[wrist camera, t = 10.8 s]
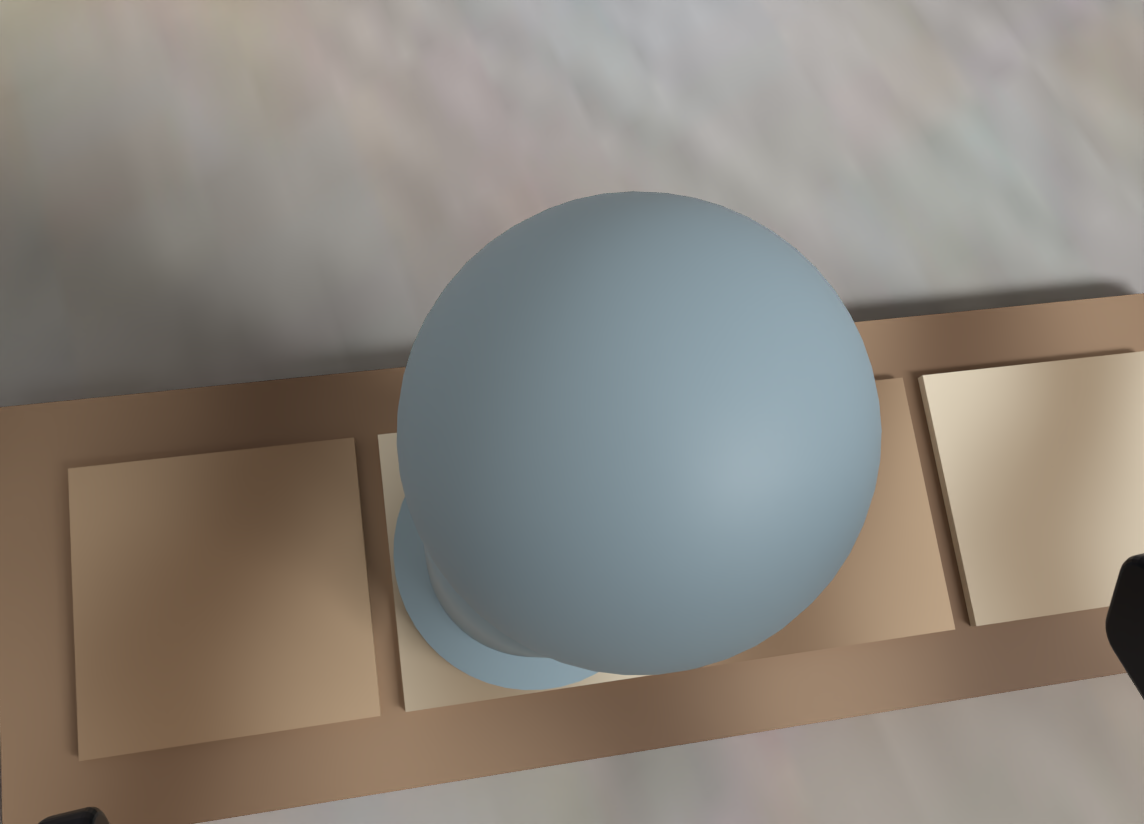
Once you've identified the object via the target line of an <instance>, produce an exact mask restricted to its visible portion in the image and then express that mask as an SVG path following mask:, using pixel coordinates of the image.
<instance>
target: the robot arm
mask: <svg viewBox="0 0 1144 824" xmlns="http://www.w3.org/2000/svg"><path fill="white" fill-rule="evenodd" d="M1105 630H1106V634H1107V638H1108V641H1109V643H1110V645H1111V647H1112V649H1113V651H1114V653H1115V654H1116V656H1117V657H1118V659H1119V661H1120V662H1121V664H1122V665H1123V667H1124V669H1125V670H1126V672H1127V673H1128V675H1129V677H1130V678H1131V680H1132V681H1133V683H1134V685H1135V686H1136V688H1137V689H1138V691H1139V693H1140V694H1141V696H1142V697H1143V699H1144V553H1142V554H1138V555H1134V556H1131V557H1129V558H1128V559H1127V560H1126V561H1125V562H1124V563H1123V564H1122V566H1121V568H1120V571H1119V574H1118V578H1117V581H1116V585H1115V588H1114V592H1113V595H1112V598H1111V602H1110V605H1109V609H1108V612H1107V616H1106V620H1105ZM38 824H110V823H109V821H108V819H107V817H106V815H105V814H104V813H103V811H101V810H100V809H99V808H97V807H85V808H81V809H77V810H73V811H69V812H65V813H60V814H56V815H52V816H49V817H47V818H45V819H43V820H42V821H40V822H39V823H38Z"/></svg>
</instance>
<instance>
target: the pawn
mask: <svg viewBox="0 0 1144 824" xmlns="http://www.w3.org/2000/svg"><path fill="white" fill-rule="evenodd" d="M881 433H882V429H881V417H880V405H879V398H878V393H877V388H876V384H875V379H874V374H873V370H872V366H871V363H870V360H869V357H868V354H867V351H866V348H865V346H864V343H863V340H862V338H861V336H860V334H859V331H858V329H857V327H856V325H855V323H854V321H853V319H852V317H851V315H850V313H849V312H848V310H847V309H846V307H845V306H844V304H843V302H842V301H841V299H840V298H839V296H838V295H837V293H836V292H835V290H834V289H833V288H832V286H831V285H830V284H829V283H828V282H827V280H826V279H825V278H824V277H823V276H822V274H821V273H820V272H819V271H818V270H817V268H816V267H815V266H814V265H812V264H811V263H810V262H809V261H808V260H807V259H806V258H805V257H804V256H803V255H802V254H801V253H800V252H799V251H798V250H797V249H796V248H794V247H793V246H792V245H790V244H789V243H788V242H786V241H785V240H784V239H782V238H781V237H780V236H778V235H777V234H776V233H774V232H773V231H771V230H769V229H768V228H766V227H764V226H763V225H761V224H759V223H757V222H756V221H754V220H752V219H750V218H749V217H747V216H744V215H742V214H740V213H737V212H735V211H733V210H730V209H728V208H726V207H723V206H721V205H717V204H714V203H710V202H707V201H704V200H700V199H697V198H692V197H687V196H681V195H675V194H669V193H656V192H634V191H632V192H619V193H606V194H600V195H595V196H590V197H585V198H580V199H575V200H572V201H569V202H567V203H564V204H561V205H558V206H555V207H552V208H549V209H547V210H545V211H543V212H541V213H539V214H537V215H535V216H533V217H531V218H529V219H527V220H525V221H523V222H521V223H519V224H517V225H515V226H513V227H512V228H510V229H509V230H507V231H506V232H504V233H503V234H501V235H500V236H498V237H497V238H495V239H494V240H492V241H491V242H489V243H488V244H487V245H486V246H485V247H484V248H483V249H481V250H480V251H479V252H478V253H477V254H476V255H475V256H473V257H472V258H471V259H470V260H469V261H468V262H467V263H466V264H465V265H464V266H463V267H462V269H461V270H460V271H459V272H458V273H457V274H456V276H455V277H454V278H453V279H452V280H451V281H450V283H449V284H448V285H447V286H446V288H445V289H444V290H443V292H442V293H441V295H440V296H439V298H438V299H437V301H436V303H435V304H434V306H433V307H432V309H431V310H430V312H429V313H428V315H427V316H426V318H425V320H424V322H423V325H422V327H421V329H420V331H419V333H418V335H417V337H416V339H415V342H414V344H413V346H412V349H411V352H410V356H409V359H408V362H407V365H406V369H405V372H404V375H403V381H402V387H401V393H400V399H399V405H398V414H397V452H398V462H399V471H400V477H401V481H402V486H403V490H404V494H405V498H404V500H403V502H402V505H401V508H400V512H399V515H398V518H397V523H396V529H395V535H394V555H393V557H394V567H395V576H396V580H397V584H398V588H399V592H400V595H401V598H402V600H403V603H404V605H405V608H406V611H407V612H408V614H409V616H410V618H411V620H412V621H413V623H414V625H415V627H416V628H417V630H418V631H419V632H420V634H421V635H422V636H423V638H424V639H425V640H426V642H427V643H428V644H429V645H430V646H431V647H432V648H433V649H434V650H435V651H436V652H437V653H438V654H439V655H440V656H441V657H443V658H444V659H445V660H446V661H448V662H449V663H450V664H452V665H453V666H454V667H456V668H457V669H459V670H461V671H463V672H464V673H466V674H468V675H469V676H472V677H474V678H476V679H479V680H481V681H484V682H486V683H489V684H493V685H497V686H500V687H504V688H511V689H519V690H544V689H551V688H557V687H562V686H566V685H569V684H573V683H576V682H579V681H581V680H583V679H586V678H588V677H590V676H592V675H595V674H596V673H598V672H603V673H611V674H619V675H660V674H666V673H673V672H679V671H686V670H691V669H696V668H699V667H702V666H706V665H709V664H712V663H716V662H719V661H722V660H726V659H728V658H731V657H733V656H735V655H737V654H739V653H741V652H744V651H746V650H748V649H750V648H752V647H755V646H756V645H758V644H760V643H761V642H763V641H764V640H766V639H767V638H769V637H770V636H772V635H774V634H775V633H777V632H778V631H780V630H781V629H783V628H784V627H785V626H786V625H787V624H789V623H790V622H791V621H792V620H793V619H794V618H796V617H797V616H798V615H799V614H800V613H801V612H802V611H804V610H805V609H806V608H807V607H808V606H809V605H810V604H811V603H813V601H814V600H815V599H816V598H817V597H818V596H819V595H820V593H821V592H822V591H823V590H824V589H825V588H826V587H827V585H828V584H829V583H830V582H831V581H832V580H833V578H834V577H835V575H836V574H837V572H838V571H839V569H840V568H841V566H842V565H843V563H844V562H845V560H846V559H847V557H848V556H849V554H850V552H851V550H852V548H853V546H854V544H855V542H856V540H857V537H858V535H859V533H860V531H861V529H862V527H863V524H864V522H865V519H866V516H867V513H868V510H869V507H870V504H871V500H872V497H873V494H874V491H875V487H876V481H877V476H878V470H879V464H880V455H881Z"/></svg>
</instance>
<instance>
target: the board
mask: <svg viewBox="0 0 1144 824" xmlns="http://www.w3.org/2000/svg"><path fill="white" fill-rule="evenodd" d="M854 323H855V325H856V327H857V329H858V331H859V334H860V336H861V338H862V340H863V343H864V346H865V348H866V351H867V354H868V357H869V360H870V363H871V366H872V370H873V374H874V379H875V384H876V388H877V393H878V398H879V405H880V417H881V429H882V433H881V455H880V464H879V470H878V476H877V481H876V487H875V491H874V494H873V497H872V500H871V504H870V507H869V510H868V513H867V516H866V519H865V522H864V524H863V527H862V529H861V531H860V533H859V535H858V537H857V540H856V542H855V544H854V546H853V548H852V550H851V552H850V554H849V556H848V557H847V559H846V560H845V562H844V563H843V565H842V566H841V568H840V569H839V571H838V572H837V574H836V575H835V577H834V578H833V580H832V581H831V582H830V583H829V584H828V585H827V587H826V588H825V589H824V590H823V591H822V592H821V593H820V595H819V596H818V597H817V598H816V599H815V600H814V601H813V603H811V604H810V605H809V606H808V607H807V608H806V609H805V610H804V611H802V612H801V613H800V614H799V615H798V616H797V617H796V618H794V619H793V620H792V621H791V622H790V623H789V624H787V625H786V626H785V627H784V628H783V629H781V630H780V631H778V632H777V633H775V634H774V635H772V636H770V637H769V638H767V639H766V640H764V641H763V642H761V643H760V644H758V645H756V646H755V647H752V648H750V649H748V650H746V651H744V652H741V653H739V654H737V655H735V656H733V657H731V658H728V659H726V660H722V661H719V662H716V663H712V664H709V665H706V666H702V667H699V668H696V669H691V670H686V671H679V672H673V673H666V674H660V675H619V674H611V673H603V672H598V673H596V674H595V675H592V676H590V677H588V678H586V679H583V680H581V681H579V682H576V683H573V684H569V685H566V686H562V687H557V688H551V689H544V690H519V689H511V688H504V687H500V686H497V685H493V684H489V683H486V682H484V681H481V680H479V679H476V678H474V677H472V676H469V675H468V674H466V673H464V672H463V671H461V670H459V669H457V668H456V667H454V666H453V665H452V664H450V663H449V662H448V661H446V660H445V659H444V658H443V657H441V656H440V655H439V654H438V653H437V652H436V651H435V650H434V649H433V648H432V647H431V646H430V645H429V644H428V643H427V642H426V640H425V639H424V638H423V636H422V635H421V634H420V632H419V631H418V630H417V628H416V627H415V625H414V623H413V621H412V620H411V618H410V616H409V614H408V612H407V611H406V608H405V605H404V603H403V600H402V598H401V595H400V592H399V588H398V584H397V580H396V576H395V567H394V557H393V555H394V535H395V529H396V523H397V518H398V515H399V512H400V508H401V505H402V502H403V500H404V498H405V494H404V490H403V486H402V481H401V477H400V471H399V462H398V452H397V414H398V405H399V399H400V393H401V387H402V381H403V375H404V372H405V369H406V367H399V368H389V369H379V370H369V371H359V372H349V373H339V374H329V375H319V376H309V377H299V378H289V379H279V380H269V381H259V382H249V383H239V384H229V385H219V386H209V387H199V388H188V389H178V390H168V391H158V392H148V393H138V394H128V395H118V396H108V397H98V398H88V399H78V400H68V401H58V402H48V403H38V404H28V405H18V406H8V407H0V743H1V788H2V824H38V823H39V822H40V821H42V820H43V819H45V818H47V817H49V816H52V815H56V814H60V813H65V812H69V811H73V810H77V809H81V808H85V807H97V808H99V809H100V810H101V811H103V813H104V814H105V815H106V817H107V819H108V821H109V823H110V824H194V823H200V822H207V821H213V820H219V819H225V818H231V817H238V816H244V815H250V814H256V813H262V812H268V811H275V810H281V809H287V808H293V807H299V806H306V805H312V804H318V803H324V802H330V801H336V800H343V799H349V798H355V797H361V796H367V795H373V794H380V793H386V792H392V791H398V790H404V789H411V788H417V787H423V786H429V785H435V784H441V783H448V782H454V781H460V780H466V779H472V778H479V777H485V776H491V775H497V774H503V773H509V772H516V771H522V770H528V769H534V768H540V767H546V766H553V765H559V764H565V763H571V762H577V761H584V760H590V759H596V758H602V757H608V756H614V755H621V754H627V753H633V752H639V751H645V750H652V749H658V748H664V747H670V746H676V745H682V744H689V743H695V742H701V741H707V740H713V739H719V738H726V737H732V736H738V735H744V734H750V733H757V732H763V731H769V730H775V729H781V728H787V727H794V726H800V725H806V724H812V723H818V722H825V721H831V720H837V719H843V718H849V717H855V716H862V715H868V714H874V713H880V712H886V711H893V710H899V709H905V708H911V707H917V706H923V705H930V704H936V703H942V702H948V701H954V700H960V699H967V698H973V697H979V696H985V695H991V694H998V693H1004V692H1010V691H1016V690H1022V689H1028V688H1035V687H1041V686H1047V685H1053V684H1059V683H1066V682H1072V681H1078V680H1084V679H1090V678H1096V677H1103V676H1109V675H1115V674H1121V673H1127V672H1126V670H1125V669H1124V667H1123V665H1122V664H1121V662H1120V661H1119V659H1118V657H1117V656H1116V654H1115V653H1114V651H1113V649H1112V647H1111V645H1110V643H1109V641H1108V638H1107V634H1106V630H1105V620H1106V616H1107V612H1108V609H1109V605H1110V602H1111V598H1112V595H1113V592H1114V588H1115V585H1116V581H1117V578H1118V574H1119V571H1120V568H1121V566H1122V564H1123V563H1124V562H1125V561H1126V560H1127V559H1128V558H1129V557H1131V556H1134V555H1138V554H1142V553H1144V293H1143V294H1133V295H1123V296H1113V297H1103V298H1093V299H1083V300H1073V301H1063V302H1053V303H1042V304H1032V305H1022V306H1012V307H1002V308H992V309H982V310H972V311H962V312H952V313H942V314H932V315H922V316H912V317H902V318H892V319H882V320H872V321H862V322H854Z"/></svg>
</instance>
